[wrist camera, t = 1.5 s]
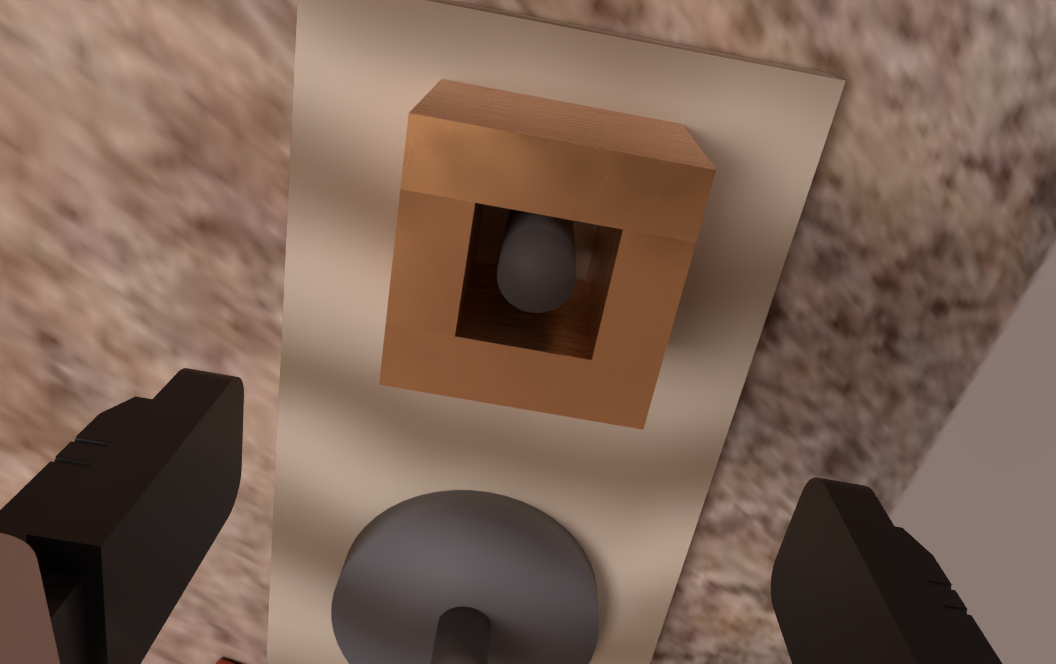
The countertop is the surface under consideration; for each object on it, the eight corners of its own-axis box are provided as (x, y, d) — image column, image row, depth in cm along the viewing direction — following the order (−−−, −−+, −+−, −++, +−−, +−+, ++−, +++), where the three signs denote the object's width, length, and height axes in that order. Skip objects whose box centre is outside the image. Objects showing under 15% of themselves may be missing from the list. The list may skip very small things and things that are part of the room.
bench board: (316, -26, 21) (211, -18, 15) (827, 73, 22) (939, 120, 15) (278, 633, 31) (207, 805, 25) (627, 688, 32) (644, 869, 26)
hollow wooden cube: (441, 78, 21) (408, 112, 16) (682, 123, 21) (716, 170, 16) (413, 301, 23) (378, 384, 19) (627, 339, 24) (643, 429, 19)
